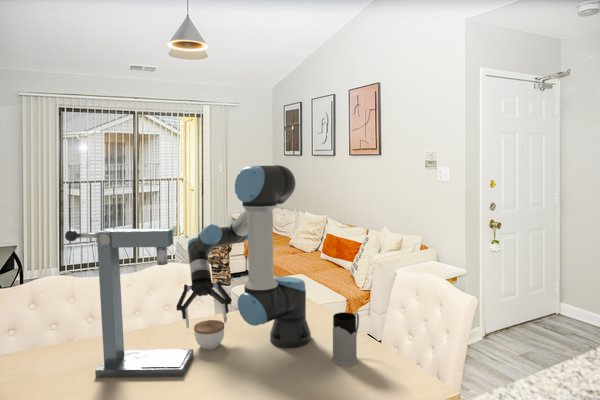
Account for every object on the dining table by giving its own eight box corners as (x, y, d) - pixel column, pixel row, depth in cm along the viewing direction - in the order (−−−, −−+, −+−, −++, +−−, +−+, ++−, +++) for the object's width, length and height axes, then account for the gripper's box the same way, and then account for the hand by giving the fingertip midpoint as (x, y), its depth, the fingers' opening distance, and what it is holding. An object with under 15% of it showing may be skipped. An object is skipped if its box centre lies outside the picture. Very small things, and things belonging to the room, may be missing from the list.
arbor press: (193, 356, 148) (188, 225, 144) (182, 376, 134) (176, 232, 130) (84, 357, 148) (76, 226, 144) (62, 377, 134) (52, 234, 130)
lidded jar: (218, 353, 150) (217, 327, 149) (189, 351, 152) (188, 325, 151) (229, 340, 160) (228, 316, 160) (202, 338, 163) (201, 314, 162)
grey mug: (326, 361, 143) (326, 317, 142) (347, 346, 155) (347, 305, 153) (350, 368, 138) (350, 323, 137) (369, 352, 150) (369, 310, 148)
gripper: (231, 275, 177) (239, 323, 164) (167, 281, 168) (171, 333, 156) (233, 265, 171) (242, 314, 159) (167, 271, 163) (171, 324, 150)
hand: (207, 324), depth 157 cm, fingers open, 13 cm apart
